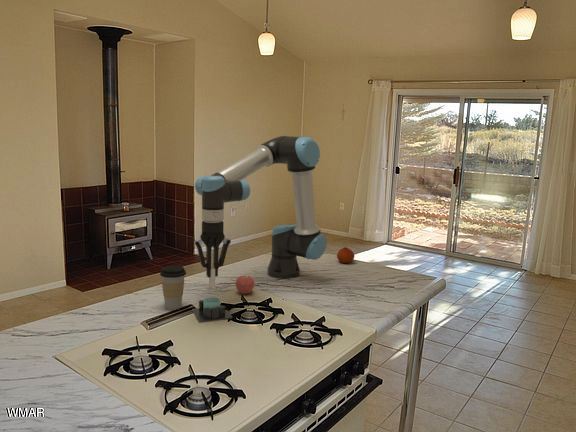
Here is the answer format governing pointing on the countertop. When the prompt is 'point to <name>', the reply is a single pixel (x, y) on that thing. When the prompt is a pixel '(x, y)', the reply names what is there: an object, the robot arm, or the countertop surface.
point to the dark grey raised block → (211, 313)
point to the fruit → (345, 255)
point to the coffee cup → (173, 286)
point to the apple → (244, 284)
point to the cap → (211, 303)
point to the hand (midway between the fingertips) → (212, 285)
